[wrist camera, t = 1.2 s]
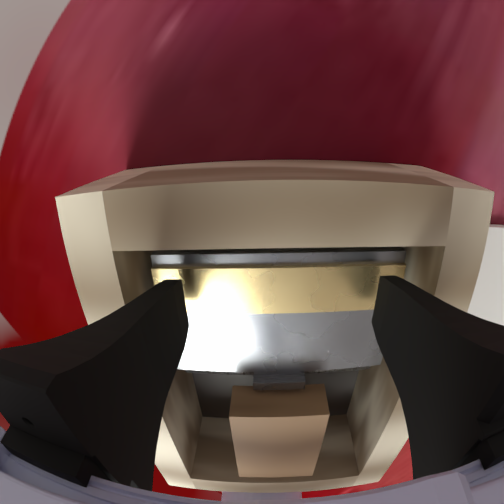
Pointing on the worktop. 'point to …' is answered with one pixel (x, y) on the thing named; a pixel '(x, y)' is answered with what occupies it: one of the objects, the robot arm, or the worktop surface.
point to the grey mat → (490, 279)
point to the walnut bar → (278, 430)
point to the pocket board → (275, 236)
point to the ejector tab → (279, 309)
